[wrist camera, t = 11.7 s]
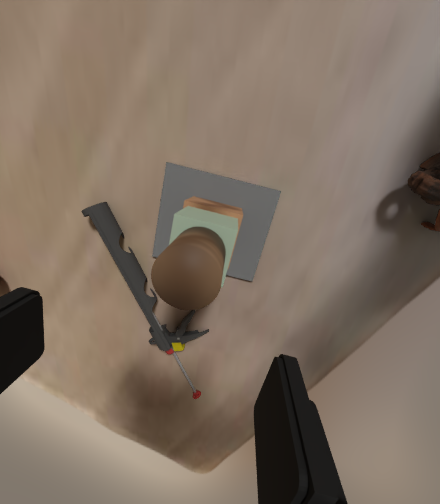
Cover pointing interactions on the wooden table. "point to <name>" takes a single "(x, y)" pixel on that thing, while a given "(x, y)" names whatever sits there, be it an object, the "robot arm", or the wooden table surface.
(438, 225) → the pottery mug
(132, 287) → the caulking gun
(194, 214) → the tower mid
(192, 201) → the tower base
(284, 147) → the wooden table surface
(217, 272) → the dowel
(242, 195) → the mat
